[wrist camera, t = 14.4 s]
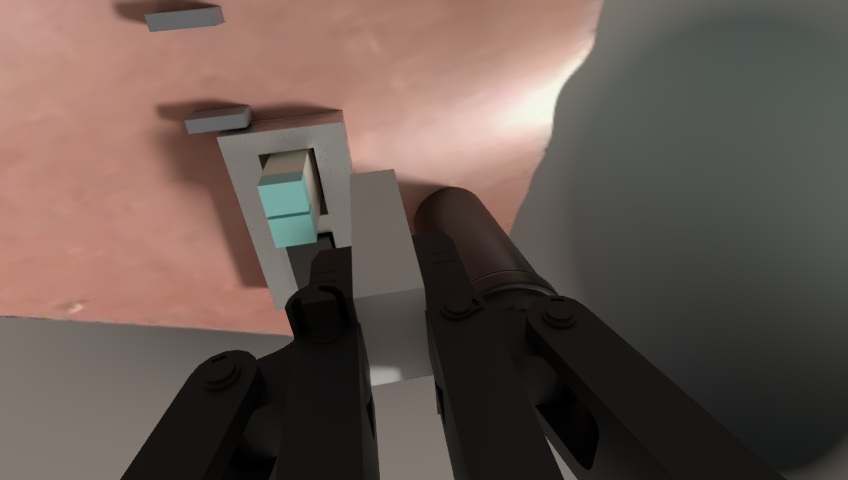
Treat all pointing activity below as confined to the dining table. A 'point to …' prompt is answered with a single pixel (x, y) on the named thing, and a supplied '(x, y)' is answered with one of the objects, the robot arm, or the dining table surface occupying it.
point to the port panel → (332, 152)
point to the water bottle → (483, 249)
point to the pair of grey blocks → (192, 19)
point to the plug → (291, 197)
